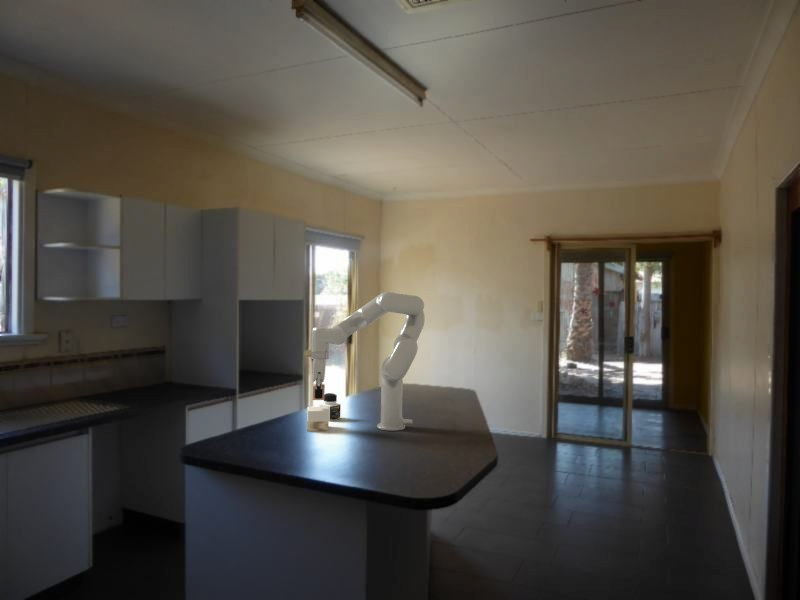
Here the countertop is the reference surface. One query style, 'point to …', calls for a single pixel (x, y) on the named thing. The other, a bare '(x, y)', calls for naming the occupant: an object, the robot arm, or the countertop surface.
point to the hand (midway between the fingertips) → (318, 396)
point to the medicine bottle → (332, 406)
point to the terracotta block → (322, 392)
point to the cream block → (317, 414)
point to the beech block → (317, 426)
